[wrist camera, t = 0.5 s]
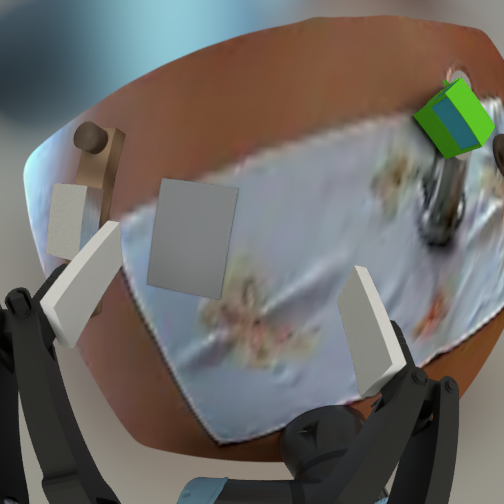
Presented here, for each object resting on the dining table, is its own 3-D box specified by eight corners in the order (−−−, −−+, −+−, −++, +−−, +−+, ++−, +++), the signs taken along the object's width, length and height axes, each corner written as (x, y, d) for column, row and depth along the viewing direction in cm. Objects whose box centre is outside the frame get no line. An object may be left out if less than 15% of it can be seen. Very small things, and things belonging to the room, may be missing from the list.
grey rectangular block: (95, 258, 31) (78, 262, 27) (64, 250, 31) (46, 253, 27) (104, 189, 30) (87, 185, 26) (72, 186, 30) (54, 183, 26)
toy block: (474, 128, 31) (509, 113, 21) (444, 166, 32) (486, 153, 22) (440, 81, 30) (471, 58, 20) (404, 112, 31) (439, 86, 21)
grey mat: (220, 298, 34) (220, 299, 34) (148, 283, 34) (146, 284, 34) (238, 188, 33) (238, 188, 33) (163, 178, 33) (162, 178, 33)
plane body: (101, 312, 35) (61, 334, 25) (76, 303, 35) (35, 322, 25) (125, 134, 33) (88, 109, 23) (98, 134, 33) (59, 113, 23)
